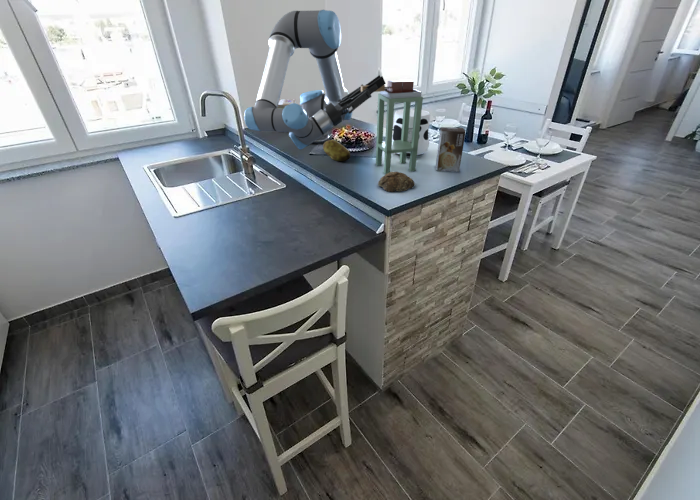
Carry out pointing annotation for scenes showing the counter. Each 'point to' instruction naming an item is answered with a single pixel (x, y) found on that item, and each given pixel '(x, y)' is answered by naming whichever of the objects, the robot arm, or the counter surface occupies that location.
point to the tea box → (285, 102)
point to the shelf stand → (403, 144)
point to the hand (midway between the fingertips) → (382, 79)
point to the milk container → (423, 133)
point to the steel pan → (401, 94)
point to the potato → (336, 150)
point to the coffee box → (450, 149)
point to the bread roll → (396, 182)
